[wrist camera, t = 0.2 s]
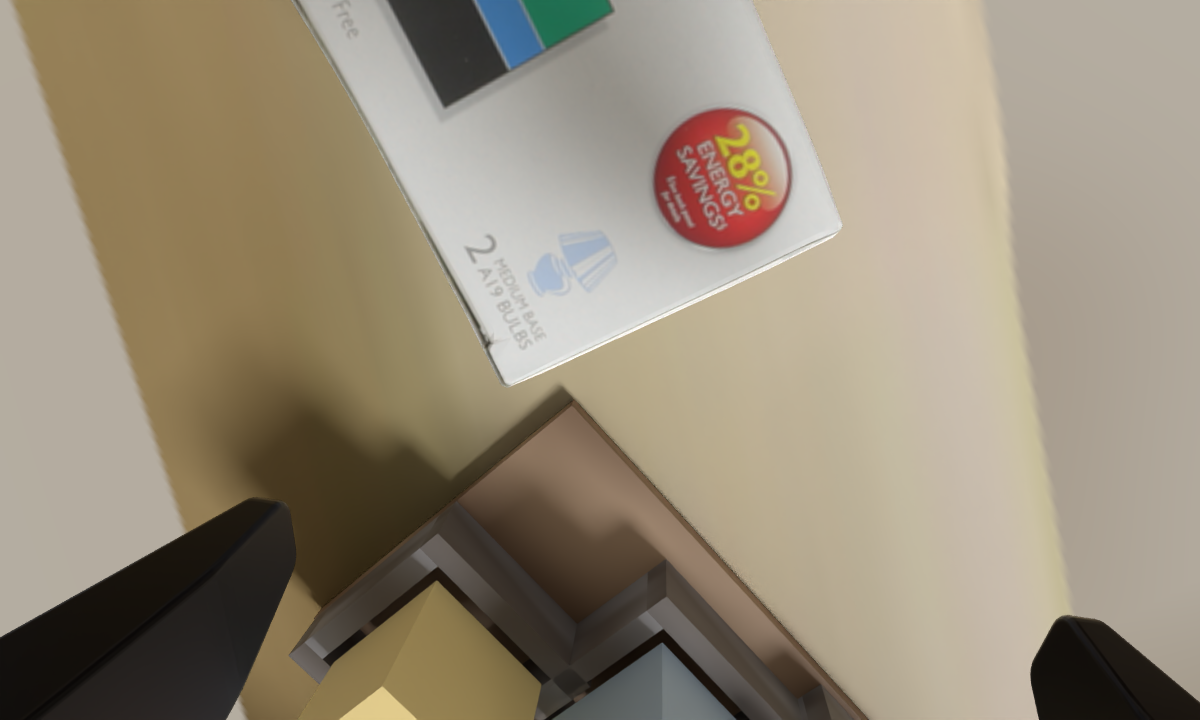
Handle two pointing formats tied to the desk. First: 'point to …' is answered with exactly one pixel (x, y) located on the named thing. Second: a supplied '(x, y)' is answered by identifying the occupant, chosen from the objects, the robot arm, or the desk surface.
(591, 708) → the pale blue cube
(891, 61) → the desk surface
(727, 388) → the desk surface
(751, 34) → the light bulb box
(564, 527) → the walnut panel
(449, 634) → the yellow cube
